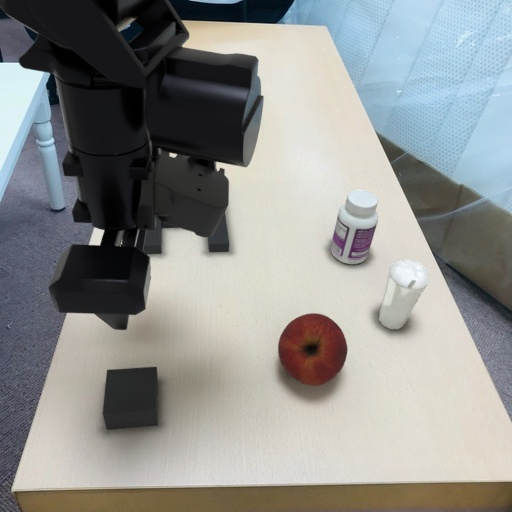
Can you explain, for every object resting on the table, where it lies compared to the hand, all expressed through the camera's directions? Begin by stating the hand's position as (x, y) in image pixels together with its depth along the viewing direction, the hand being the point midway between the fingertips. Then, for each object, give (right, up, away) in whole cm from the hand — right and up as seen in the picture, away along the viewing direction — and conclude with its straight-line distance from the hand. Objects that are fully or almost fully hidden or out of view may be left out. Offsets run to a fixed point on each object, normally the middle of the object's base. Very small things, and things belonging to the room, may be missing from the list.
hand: (129, 288), depth 46 cm
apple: (+17, -10, +11) cm, 23 cm away
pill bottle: (+25, +3, +27) cm, 36 cm away
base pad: (+1, +9, +29) cm, 31 cm away
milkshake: (+28, -5, +17) cm, 34 cm away
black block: (-1, -12, +6) cm, 14 cm away
